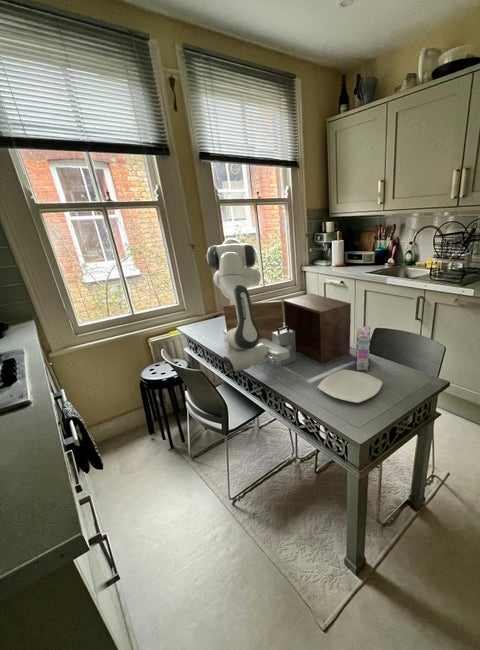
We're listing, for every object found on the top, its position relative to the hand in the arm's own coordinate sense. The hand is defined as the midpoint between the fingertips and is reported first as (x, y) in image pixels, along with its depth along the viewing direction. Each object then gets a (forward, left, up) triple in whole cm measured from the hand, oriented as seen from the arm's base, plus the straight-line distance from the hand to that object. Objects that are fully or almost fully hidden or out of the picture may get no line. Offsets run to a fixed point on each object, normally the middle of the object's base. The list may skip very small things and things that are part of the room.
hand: (285, 344), depth 146 cm
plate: (+36, +5, -10) cm, 38 cm away
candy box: (+25, +25, -10) cm, 37 cm away
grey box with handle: (0, -1, -8) cm, 8 cm away
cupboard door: (-24, -2, -10) cm, 26 cm away
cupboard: (0, +19, -10) cm, 21 cm away
